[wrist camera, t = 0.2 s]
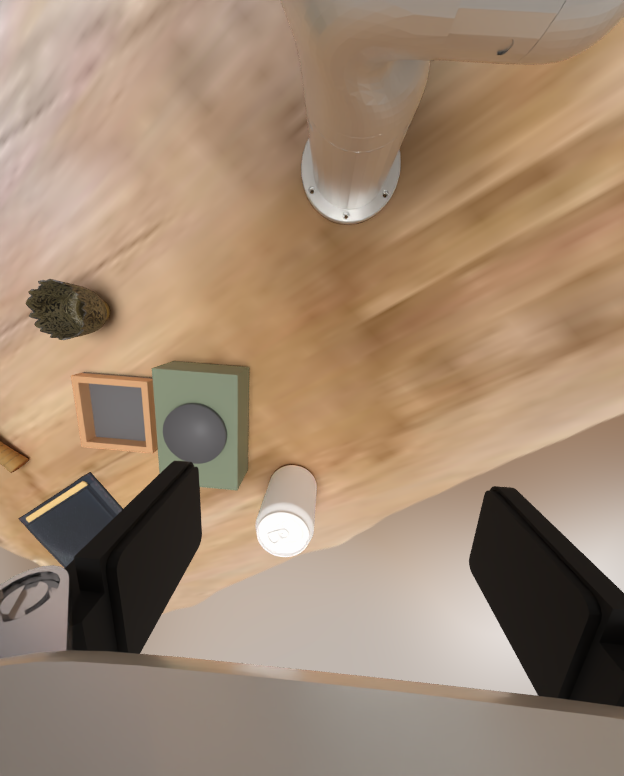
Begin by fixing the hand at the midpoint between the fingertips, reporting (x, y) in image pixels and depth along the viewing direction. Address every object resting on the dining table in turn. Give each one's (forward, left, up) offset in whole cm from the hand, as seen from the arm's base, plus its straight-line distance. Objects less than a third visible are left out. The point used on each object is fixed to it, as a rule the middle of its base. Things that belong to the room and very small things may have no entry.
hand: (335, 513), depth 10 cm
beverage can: (+23, -4, -37) cm, 44 cm away
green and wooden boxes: (+12, -26, -37) cm, 46 cm away
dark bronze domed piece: (-4, -35, -37) cm, 51 cm away
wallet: (+36, -44, -37) cm, 68 cm away
